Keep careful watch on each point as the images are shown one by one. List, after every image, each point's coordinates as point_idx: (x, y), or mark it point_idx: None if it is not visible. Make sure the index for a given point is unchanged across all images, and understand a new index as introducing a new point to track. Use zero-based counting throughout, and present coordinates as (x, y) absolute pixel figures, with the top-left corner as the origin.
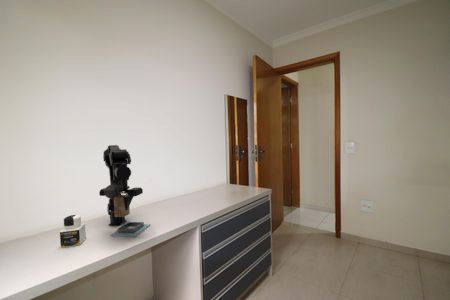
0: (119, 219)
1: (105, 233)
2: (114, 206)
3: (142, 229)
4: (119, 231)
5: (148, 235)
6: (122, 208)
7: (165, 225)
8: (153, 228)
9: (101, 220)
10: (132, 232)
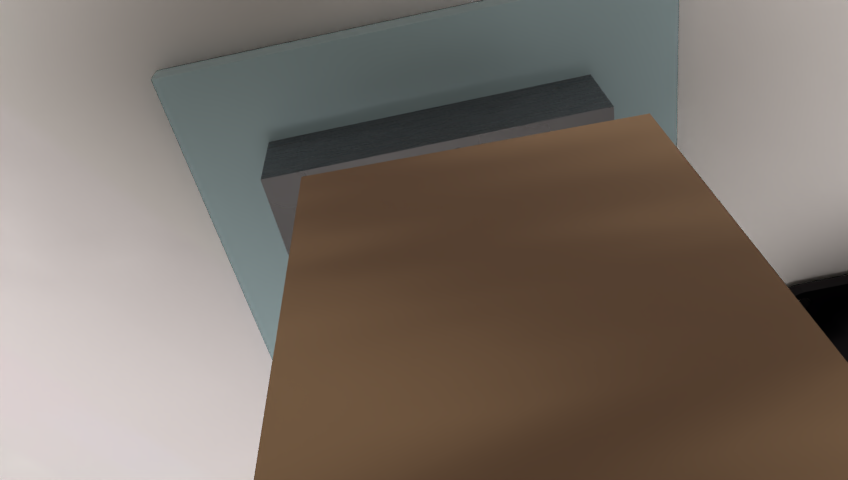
0: None
1: (843, 21)
2: (845, 393)
3: (263, 284)
4: (562, 92)
5: (2, 176)
6: (303, 404)
7: (92, 466)
8: (170, 365)
9: None
10: (301, 142)
